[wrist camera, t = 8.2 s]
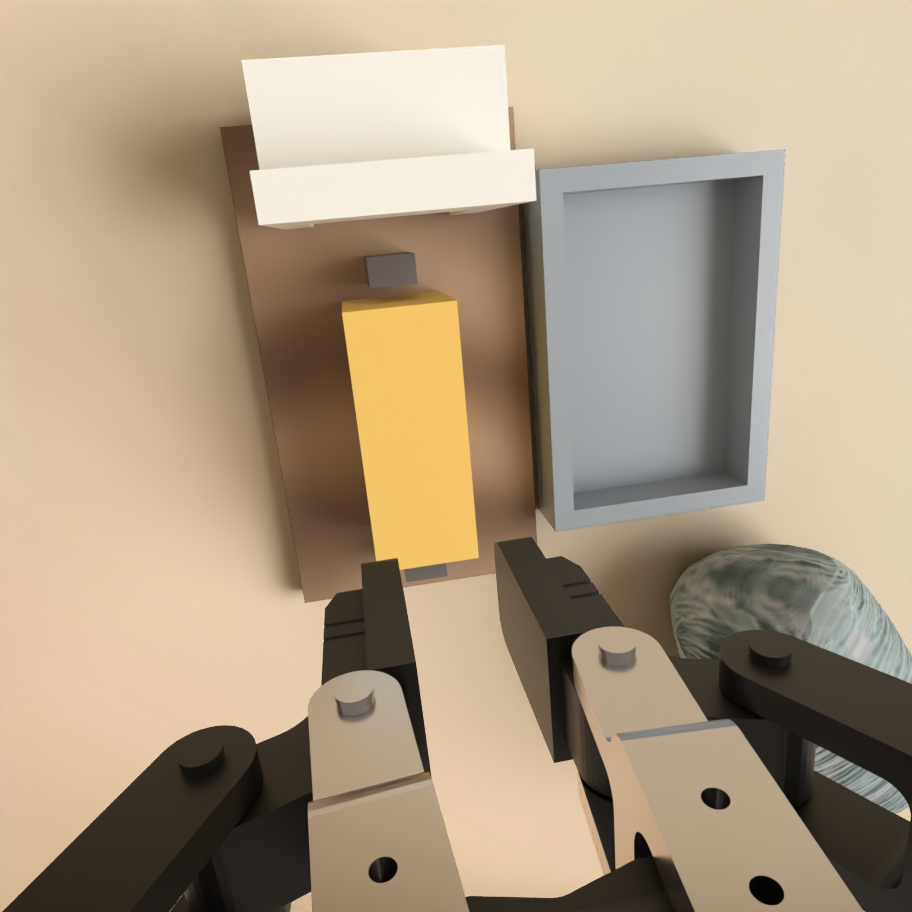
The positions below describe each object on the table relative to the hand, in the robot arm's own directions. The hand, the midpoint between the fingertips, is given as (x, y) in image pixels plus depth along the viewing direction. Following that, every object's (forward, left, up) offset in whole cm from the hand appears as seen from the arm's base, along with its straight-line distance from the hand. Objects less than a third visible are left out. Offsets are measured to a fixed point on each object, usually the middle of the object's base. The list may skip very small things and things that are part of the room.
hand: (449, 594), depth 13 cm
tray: (+2, -10, -15) cm, 18 cm away
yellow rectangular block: (0, 0, -14) cm, 14 cm away
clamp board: (+2, 0, -15) cm, 15 cm away
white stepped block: (+9, 0, -14) cm, 17 cm away
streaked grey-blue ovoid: (-13, -16, -15) cm, 26 cm away
